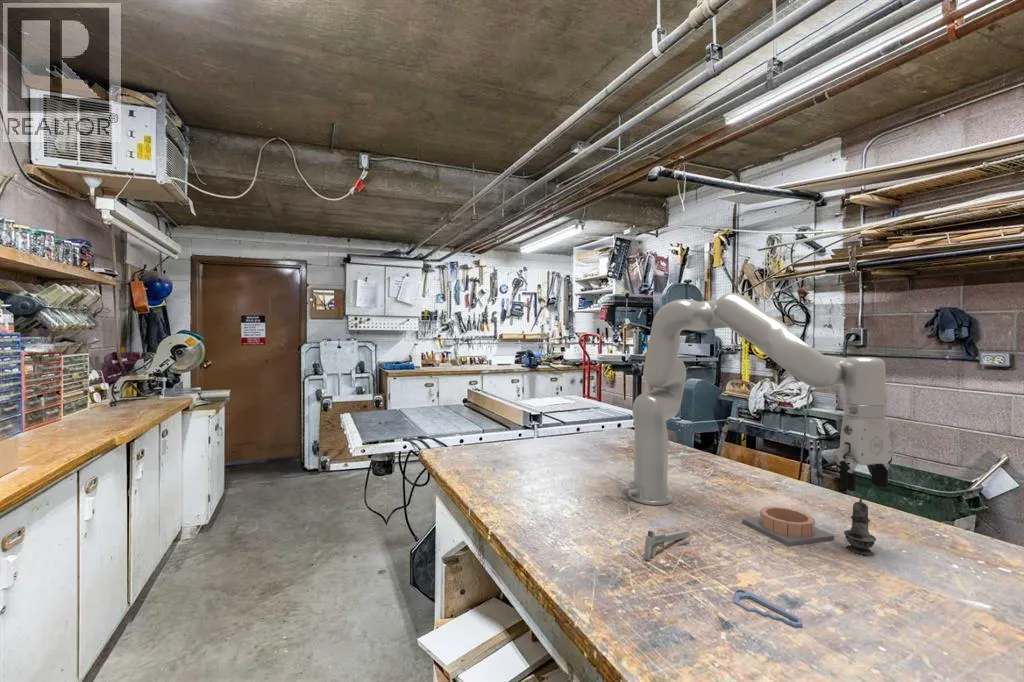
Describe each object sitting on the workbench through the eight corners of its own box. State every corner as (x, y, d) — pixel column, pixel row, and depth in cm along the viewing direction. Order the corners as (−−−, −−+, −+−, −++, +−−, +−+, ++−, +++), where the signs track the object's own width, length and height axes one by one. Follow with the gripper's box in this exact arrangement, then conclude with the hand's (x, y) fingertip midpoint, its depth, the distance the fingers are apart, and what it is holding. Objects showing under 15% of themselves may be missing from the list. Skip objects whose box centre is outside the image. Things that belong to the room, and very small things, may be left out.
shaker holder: (788, 546, 108) (788, 529, 108) (742, 522, 121) (742, 507, 121) (834, 539, 112) (834, 523, 112) (784, 517, 125) (785, 502, 125)
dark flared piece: (869, 547, 108) (871, 496, 108) (880, 559, 102) (881, 504, 102) (839, 543, 110) (841, 492, 110) (848, 554, 104) (850, 501, 104)
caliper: (648, 563, 99) (649, 533, 99) (644, 561, 100) (644, 532, 100) (691, 535, 114) (691, 509, 114) (686, 534, 114) (687, 508, 114)
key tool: (791, 638, 76) (807, 625, 79) (791, 632, 76) (807, 620, 78) (724, 601, 86) (740, 591, 89) (724, 596, 86) (740, 587, 89)
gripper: (851, 416, 100) (851, 496, 100) (909, 412, 105) (909, 489, 105) (819, 411, 107) (819, 486, 107) (875, 408, 112) (874, 479, 112)
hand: (863, 487), depth 106 cm, fingers open, 9 cm apart
